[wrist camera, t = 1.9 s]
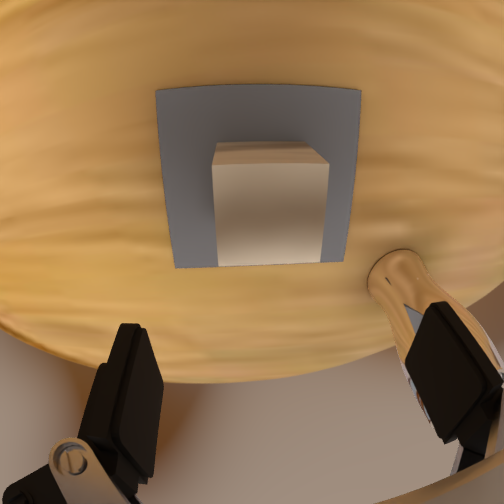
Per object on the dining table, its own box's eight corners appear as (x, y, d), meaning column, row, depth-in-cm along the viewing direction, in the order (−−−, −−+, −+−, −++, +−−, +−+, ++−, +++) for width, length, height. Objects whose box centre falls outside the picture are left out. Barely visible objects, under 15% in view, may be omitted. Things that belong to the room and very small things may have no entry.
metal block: (217, 142, 20) (211, 165, 15) (304, 141, 21) (329, 163, 15) (221, 221, 23) (218, 266, 18) (300, 219, 24) (319, 262, 19)
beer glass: (423, 291, 29) (494, 403, 16) (364, 312, 30) (420, 441, 17) (425, 235, 26) (523, 351, 13) (359, 257, 26) (437, 399, 14)
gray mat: (157, 90, 19) (155, 90, 18) (358, 90, 19) (361, 90, 19) (176, 265, 26) (175, 268, 25) (341, 258, 26) (343, 261, 26)
